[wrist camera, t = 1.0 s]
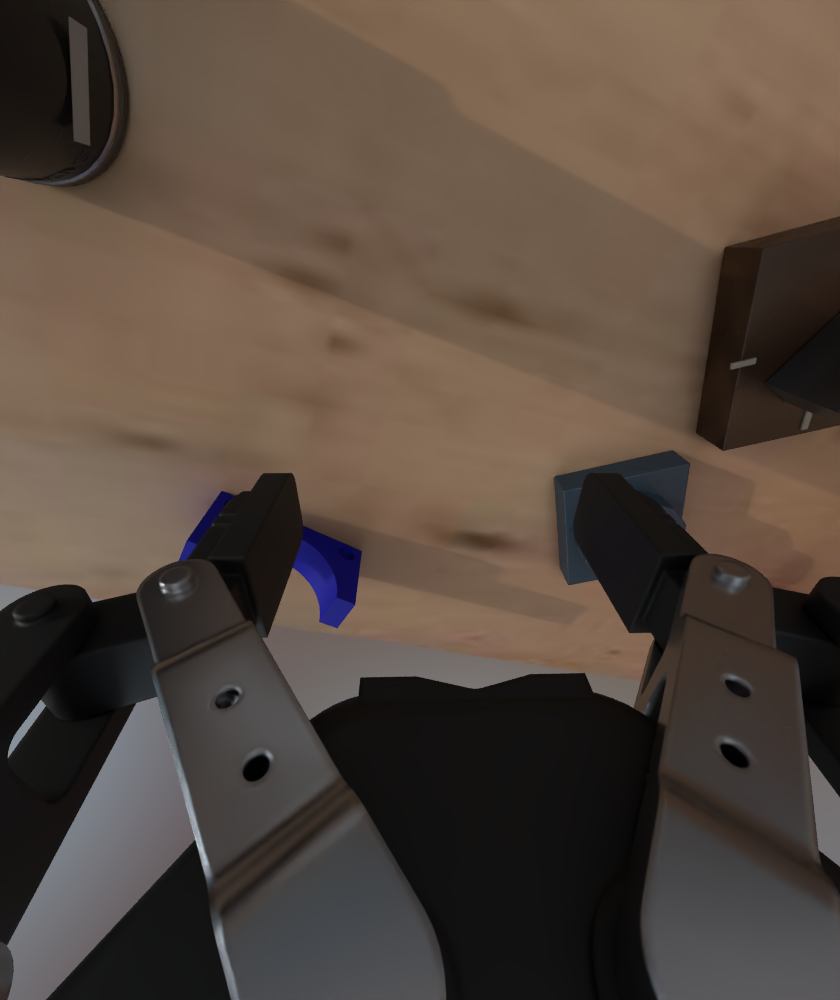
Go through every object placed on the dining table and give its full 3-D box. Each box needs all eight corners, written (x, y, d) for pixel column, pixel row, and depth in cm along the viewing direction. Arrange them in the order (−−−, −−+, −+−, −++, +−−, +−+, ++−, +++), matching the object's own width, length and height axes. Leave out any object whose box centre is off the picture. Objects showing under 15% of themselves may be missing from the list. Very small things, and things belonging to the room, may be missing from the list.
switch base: (713, 249, 23) (753, 251, 21) (923, 193, 22) (995, 187, 19) (687, 435, 30) (715, 454, 27) (849, 398, 29) (894, 414, 26)
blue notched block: (204, 531, 33) (169, 584, 28) (221, 490, 31) (186, 540, 26) (338, 583, 37) (328, 639, 31) (361, 551, 34) (355, 604, 29)
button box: (554, 476, 31) (572, 505, 28) (673, 449, 30) (706, 476, 27) (559, 568, 37) (575, 601, 33) (661, 547, 36) (688, 579, 32)
